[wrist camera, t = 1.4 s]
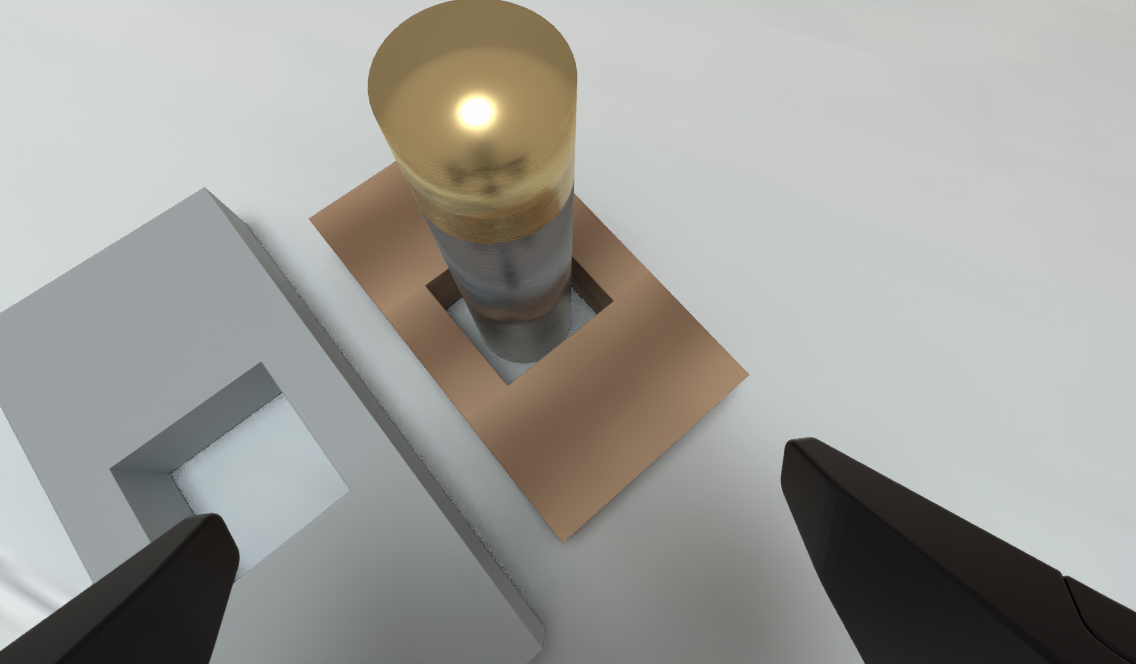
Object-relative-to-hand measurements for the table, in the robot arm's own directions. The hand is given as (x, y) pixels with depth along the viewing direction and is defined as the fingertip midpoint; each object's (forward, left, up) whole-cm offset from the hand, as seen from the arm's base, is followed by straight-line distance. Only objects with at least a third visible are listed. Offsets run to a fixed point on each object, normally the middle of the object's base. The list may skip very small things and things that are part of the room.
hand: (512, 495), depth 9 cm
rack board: (+7, +8, -13) cm, 17 cm away
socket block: (+6, -4, -13) cm, 15 cm away
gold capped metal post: (+6, -4, -13) cm, 15 cm away
